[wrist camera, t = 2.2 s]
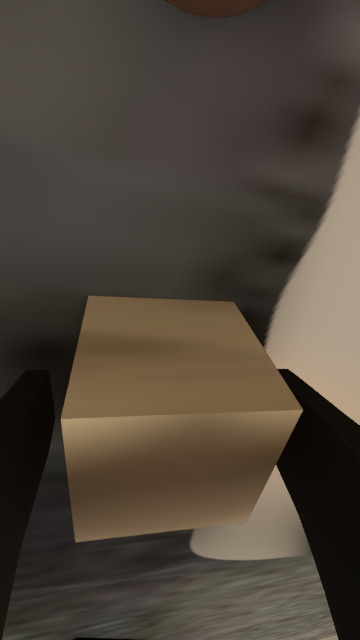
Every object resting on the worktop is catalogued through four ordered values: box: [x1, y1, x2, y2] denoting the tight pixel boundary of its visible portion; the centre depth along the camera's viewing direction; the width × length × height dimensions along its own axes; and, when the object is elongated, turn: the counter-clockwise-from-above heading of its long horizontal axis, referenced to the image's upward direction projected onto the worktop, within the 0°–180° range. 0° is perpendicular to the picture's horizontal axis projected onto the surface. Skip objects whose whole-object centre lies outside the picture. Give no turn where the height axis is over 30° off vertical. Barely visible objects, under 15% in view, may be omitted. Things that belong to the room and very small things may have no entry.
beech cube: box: [61, 296, 303, 542], centre depth 9 cm, size 5×5×5 cm
